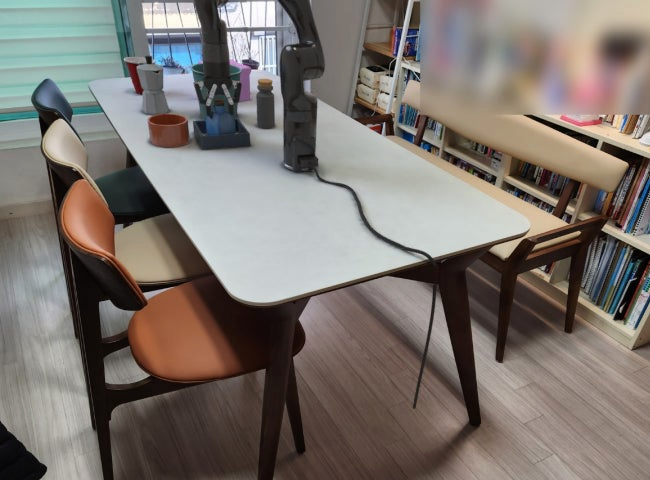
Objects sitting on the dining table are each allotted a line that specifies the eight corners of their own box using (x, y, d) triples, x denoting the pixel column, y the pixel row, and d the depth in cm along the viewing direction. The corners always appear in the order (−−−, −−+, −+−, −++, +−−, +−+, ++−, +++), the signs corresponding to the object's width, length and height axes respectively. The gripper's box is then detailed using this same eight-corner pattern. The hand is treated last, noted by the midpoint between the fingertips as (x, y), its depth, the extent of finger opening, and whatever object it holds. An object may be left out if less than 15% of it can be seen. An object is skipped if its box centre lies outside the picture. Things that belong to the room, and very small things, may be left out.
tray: (250, 146, 162) (249, 133, 160) (202, 149, 156) (201, 136, 154) (239, 130, 173) (238, 118, 170) (193, 133, 167) (192, 120, 165)
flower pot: (234, 107, 192) (231, 61, 183) (251, 121, 181) (249, 73, 172) (188, 111, 184) (183, 63, 175) (203, 126, 173) (199, 75, 164)
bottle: (276, 124, 181) (276, 79, 172) (272, 129, 176) (271, 83, 168) (260, 122, 181) (258, 77, 173) (255, 127, 176) (253, 81, 168)
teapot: (182, 95, 199) (178, 55, 191) (242, 88, 213) (240, 51, 205) (201, 106, 189) (197, 65, 182) (261, 98, 204) (260, 60, 196)
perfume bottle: (223, 134, 168) (220, 96, 161) (236, 140, 165) (233, 101, 158) (207, 138, 164) (203, 100, 157) (219, 144, 161) (216, 105, 154)
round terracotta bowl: (192, 145, 158) (190, 124, 154) (153, 148, 154) (149, 126, 150) (186, 133, 166) (184, 112, 163) (148, 135, 162) (145, 114, 158)
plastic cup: (166, 93, 199) (162, 59, 192) (142, 98, 191) (136, 63, 184) (147, 86, 203) (142, 53, 196) (122, 91, 195) (116, 57, 189)
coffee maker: (176, 114, 180) (170, 59, 170) (151, 118, 174) (143, 61, 164) (157, 102, 188) (150, 49, 178) (133, 106, 183) (124, 51, 173)
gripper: (192, 61, 145) (198, 122, 155) (244, 61, 151) (246, 119, 161) (187, 55, 151) (193, 114, 160) (237, 55, 157) (240, 111, 166)
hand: (220, 116), depth 160 cm, fingers closed on perfume bottle, 5 cm apart
